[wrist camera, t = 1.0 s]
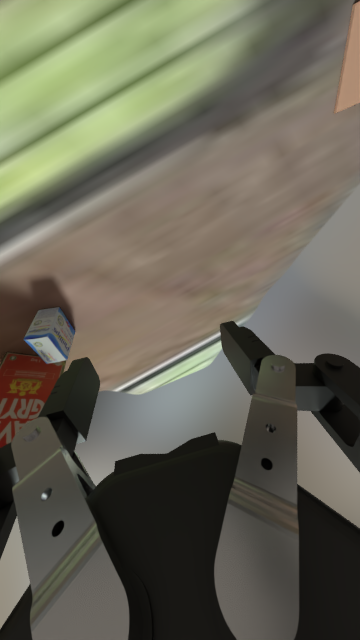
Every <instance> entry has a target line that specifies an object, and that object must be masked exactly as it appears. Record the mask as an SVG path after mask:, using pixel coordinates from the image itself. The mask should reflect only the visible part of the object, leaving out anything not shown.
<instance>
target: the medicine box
mask: <svg viewBox="0 0 360 640" xmlns="http://www.w3.org/2000/svg"><path fill="white" fill-rule="evenodd" d="M74 334H75V330H74V329H73V327H72V326H71V324H70V323H69V321H68V320H67V318H66V316H65V315H64V313H63V312H62V310H61V309H60V307H56V308H49V309H43V310H38V312H37V314H36V316H35V318H34V320H33V322H32V324H31V326H30V327H29V329H28V331H27V333H26V335H25V337H24V341H25V342H26V343H27V344H28V345H29V346H30V347H31V348H32V349H33V350H34V351H35V352H36V353H37V354H38V355H39V356H40V357H41V358H42V359H43V361H44V362H45V363H46V364H49V363H55V362H60V361H65V360H67V359H68V355H69V352H70V348H71V345H72V341H73V338H74Z"/></svg>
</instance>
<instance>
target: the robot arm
mask: <svg viewBox="0 0 360 640" xmlns="http://www.w3.org/2000/svg"><path fill="white" fill-rule="evenodd" d="M220 332H221V343H222V348H223V351H224V354H225V355H226V357H227V358H228V360H229V362H230V363H231V365H232V367H233V368H234V370H235V371H236V373H237V375H238V376H239V378H240V379H241V381H242V383H243V384H244V386H245V388H246V389H247V391H248V392H249V394H250V395H253V396H252V400H251V405H250V409H249V414H248V419H247V423H246V428H245V432H244V437H243V442H242V445H239V444H237V443H234V442H230V441H224V440H217V437H216V434H215V433H211V434H208V435H204V436H201V437H197V438H194V439H191V440H189V441H187V442H186V443H184V444H182V445H181V446H179V447H178V448H176V449H174V450H173V451H171V452H169V453H167V454H139V455H135V456H132V457H129V458H125V459H122V460H118V461H115V469H114V472H112V473H111V474H110V475H108V476H107V477H106V478H104V479H103V480H102V481H101V482H100V483H99V484H98V485H97V486H95V484H94V483H93V481H92V480H91V478H90V476H89V474H88V473H87V471H86V469H85V467H84V465H83V464H82V462H81V460H80V458H79V457H78V455H77V453H76V452H75V446H76V444H77V443H81V442H84V441H86V439H87V435H88V431H89V427H90V423H91V419H92V415H93V411H94V407H95V403H96V399H97V395H98V391H99V388H100V380H99V376H98V374H97V373H96V371H95V369H94V367H93V365H92V363H91V361H90V359H89V358H87V357H85V358H81V359H77V360H73V361H72V363H71V365H70V367H69V369H68V371H65V372H64V373H63V374H62V375H61V376H60V377H59V378H58V380H57V381H56V383H55V385H54V388H53V389H52V391H51V393H50V395H49V397H48V399H47V400H46V402H45V404H44V406H43V408H42V410H41V412H40V414H39V416H38V417H37V418H36V419H34V420H32V421H30V422H28V423H27V424H26V425H24V426H23V427H22V428H21V429H20V430H19V431H18V432H17V433H16V435H15V436H14V438H13V440H12V442H10V443H8V444H7V445H5V446H3V447H1V448H0V558H1V556H2V553H3V551H4V548H5V545H6V543H7V540H8V538H9V535H10V532H11V530H12V527H13V524H14V522H15V519H16V516H17V517H18V523H19V528H20V532H21V537H22V543H23V548H24V553H25V559H26V564H27V569H28V574H29V579H30V585H29V587H28V588H27V590H26V591H25V593H24V594H23V596H22V597H21V599H20V600H19V602H18V603H17V605H16V606H15V608H14V609H13V611H12V612H11V614H10V616H9V617H8V618H7V620H6V622H5V623H4V624H3V626H2V628H1V629H0V640H360V528H358V527H357V526H356V525H354V524H353V523H351V522H350V521H349V520H347V519H346V518H344V517H343V516H342V515H340V514H339V513H337V512H336V511H334V510H333V509H332V508H330V507H329V506H327V505H326V504H325V503H323V502H322V501H321V500H319V499H318V498H316V497H315V496H314V495H312V494H311V493H309V492H308V491H306V490H305V489H304V488H302V487H301V486H299V485H298V484H297V410H302V411H311V412H312V414H313V415H314V416H315V417H316V418H317V420H318V421H319V422H320V423H321V425H322V426H323V427H324V428H325V430H326V431H327V432H328V433H329V435H330V436H331V437H332V438H333V440H334V441H335V442H336V443H337V445H338V446H339V447H340V448H341V450H342V451H343V452H344V453H345V455H346V456H347V457H348V458H349V460H350V461H351V462H352V463H353V465H354V466H355V467H356V468H357V470H358V471H359V472H360V368H359V367H358V366H356V365H355V364H354V363H352V362H351V361H350V360H348V359H346V358H344V357H342V356H339V355H335V354H321V355H318V356H317V357H316V358H315V360H314V363H303V364H302V363H300V364H296V363H293V362H292V361H291V360H290V359H288V358H287V357H284V356H280V355H275V354H274V353H273V352H272V351H271V350H270V349H269V348H268V347H267V346H266V345H265V344H264V343H263V342H262V341H261V340H260V339H259V338H258V337H257V336H256V335H255V334H254V333H253V332H252V331H251V330H250V329H248V328H245V327H238V326H237V325H236V324H235V322H234V321H229V322H225V323H222V324H220Z"/></svg>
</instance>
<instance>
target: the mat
mask: <svg viewBox="0 0 360 640" xmlns="http://www.w3.org/2000/svg"><path fill="white" fill-rule="evenodd" d="M357 103H360V1H359V2H357V3H355V4H354V5H353V8H352V13H351V19H350V25H349V31H348V36H347V42H346V48H345V53H344V59H343V65H342V70H341V76H340V82H339V87H338V93H337V99H336V105H335V110H334V113H338V112H340V111H342V110H344V109H346V108H349V107H351V106H353V105H355V104H357Z"/></svg>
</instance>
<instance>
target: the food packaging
mask: <svg viewBox="0 0 360 640" xmlns="http://www.w3.org/2000/svg"><path fill="white" fill-rule="evenodd" d="M65 364H66V360H65V361H60V362H55V363H49V364H46V363H45V362H44V361H43V359H42V358H41V357H40V356H35V355H26V354H18V353H9V352H6V354H5V356H4V358H3V360H2V362H1V364H0V448H1V447H3V446H5V445H7V444H8V443H10V442H12V440H13V438H14V436H15V435H16V433H17V432H18V431H19V430H20V429H21V428H22V427H23V426H24V425H26V424H27V423H28V422H30V421H32V420H34V419H36V418H37V417H38V416H39V414H40V412H41V410H42V408H43V406H44V404H45V402H46V400H47V399H48V397H49V395H50V393H51V391H52V389H53V388H54V385H55V383H56V381H57V380H58V378H59V377H60V376H61V375H62V374H63V373H64V368H65Z"/></svg>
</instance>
